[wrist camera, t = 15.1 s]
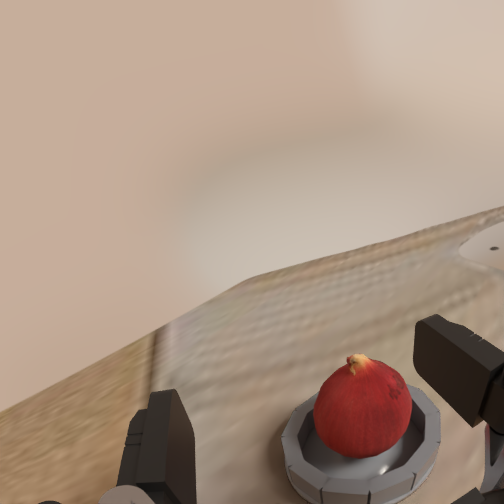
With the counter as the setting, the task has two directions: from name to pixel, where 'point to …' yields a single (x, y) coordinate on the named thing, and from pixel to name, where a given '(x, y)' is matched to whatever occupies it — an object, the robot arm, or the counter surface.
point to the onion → (362, 408)
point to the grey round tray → (361, 470)
